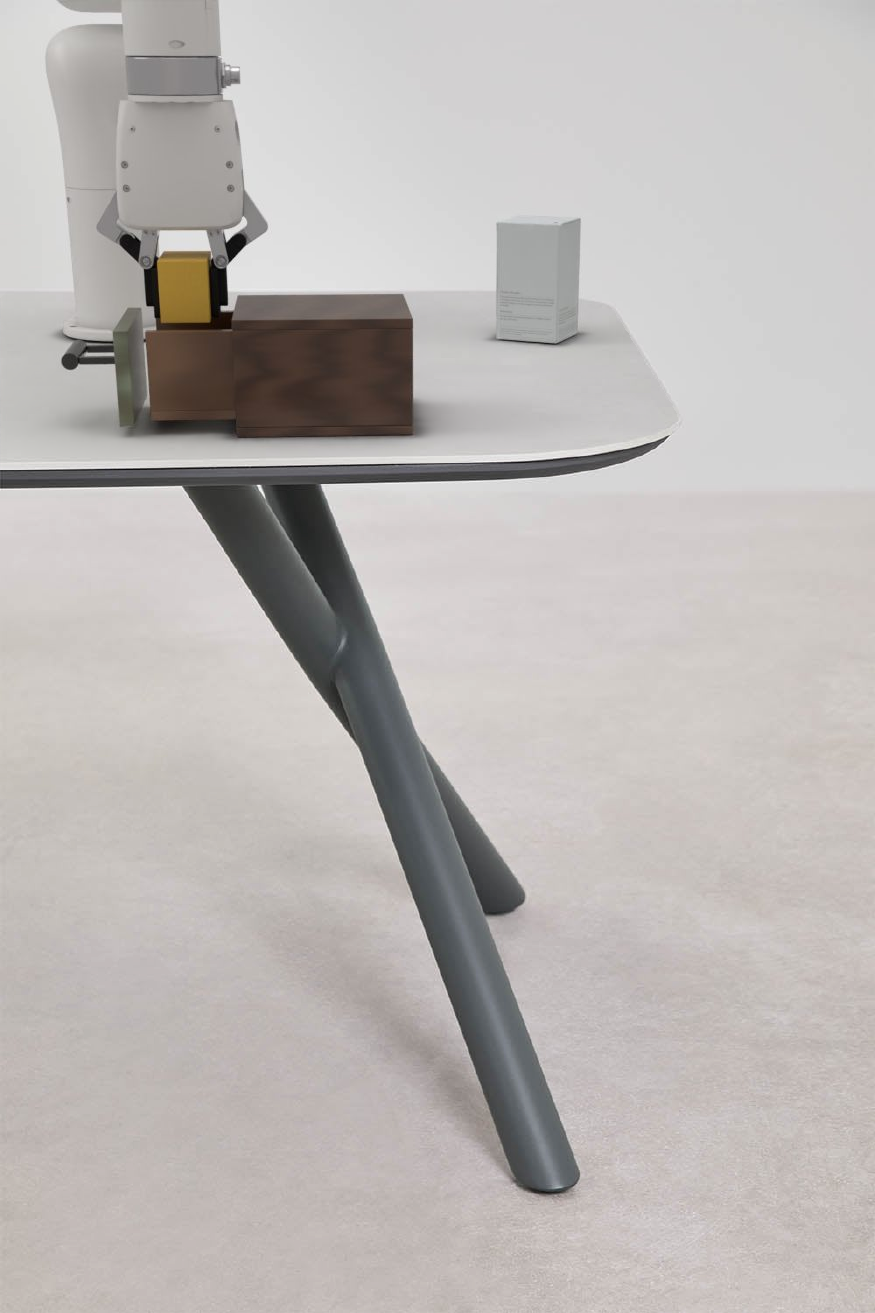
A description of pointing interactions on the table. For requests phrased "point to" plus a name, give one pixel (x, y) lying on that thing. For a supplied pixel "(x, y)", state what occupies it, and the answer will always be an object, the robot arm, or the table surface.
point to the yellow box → (184, 286)
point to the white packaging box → (537, 278)
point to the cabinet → (323, 365)
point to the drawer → (168, 368)
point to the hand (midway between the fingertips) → (188, 312)
